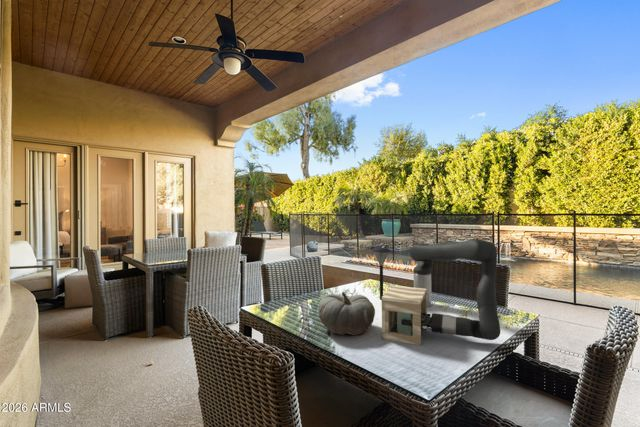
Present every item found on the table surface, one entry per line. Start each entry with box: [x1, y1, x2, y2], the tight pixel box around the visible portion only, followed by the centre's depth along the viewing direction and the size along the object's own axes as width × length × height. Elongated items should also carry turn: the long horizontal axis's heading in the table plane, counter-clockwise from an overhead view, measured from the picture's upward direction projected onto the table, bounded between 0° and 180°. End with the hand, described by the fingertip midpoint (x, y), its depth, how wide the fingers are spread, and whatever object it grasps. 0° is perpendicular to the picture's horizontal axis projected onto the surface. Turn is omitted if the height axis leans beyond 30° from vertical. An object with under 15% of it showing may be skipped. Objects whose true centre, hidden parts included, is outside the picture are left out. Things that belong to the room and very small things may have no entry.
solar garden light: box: [370, 246, 392, 301], centre depth 185 cm, size 12×12×30 cm
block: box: [396, 312, 412, 335], centre depth 136 cm, size 5×5×10 cm
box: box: [381, 285, 428, 346], centre depth 136 cm, size 20×15×17 cm
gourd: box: [317, 291, 376, 336], centre depth 141 cm, size 25×25×17 cm
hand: (403, 318), depth 137 cm, fingers open, 8 cm apart
